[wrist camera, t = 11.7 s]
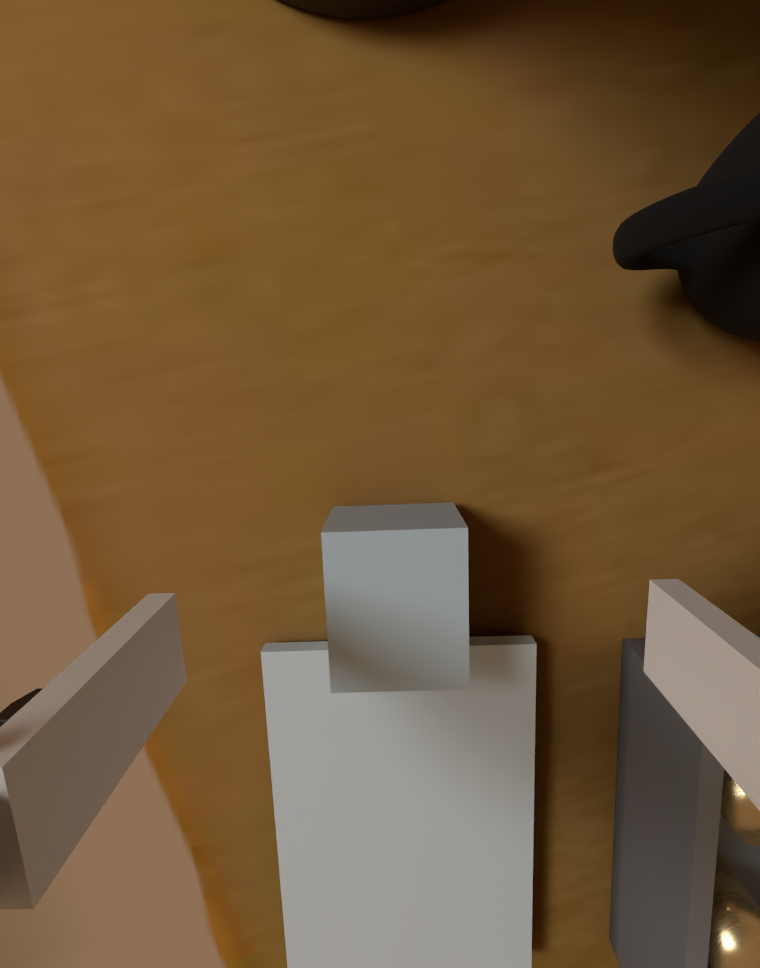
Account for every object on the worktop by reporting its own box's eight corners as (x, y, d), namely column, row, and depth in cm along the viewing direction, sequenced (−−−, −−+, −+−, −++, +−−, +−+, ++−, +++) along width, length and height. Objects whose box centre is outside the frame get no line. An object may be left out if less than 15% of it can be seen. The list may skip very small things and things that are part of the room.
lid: (258, 505, 23) (225, 535, 18) (528, 495, 22) (566, 524, 18) (293, 938, 27) (273, 1057, 22) (522, 934, 26) (552, 1052, 22)
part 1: (674, 710, 23) (733, 776, 19) (743, 707, 23) (817, 774, 19) (670, 771, 23) (727, 848, 19) (737, 769, 23) (809, 846, 19)
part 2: (665, 847, 24) (719, 937, 20) (730, 846, 24) (798, 935, 20) (661, 902, 25) (714, 1000, 21) (726, 901, 25) (790, 998, 21)
